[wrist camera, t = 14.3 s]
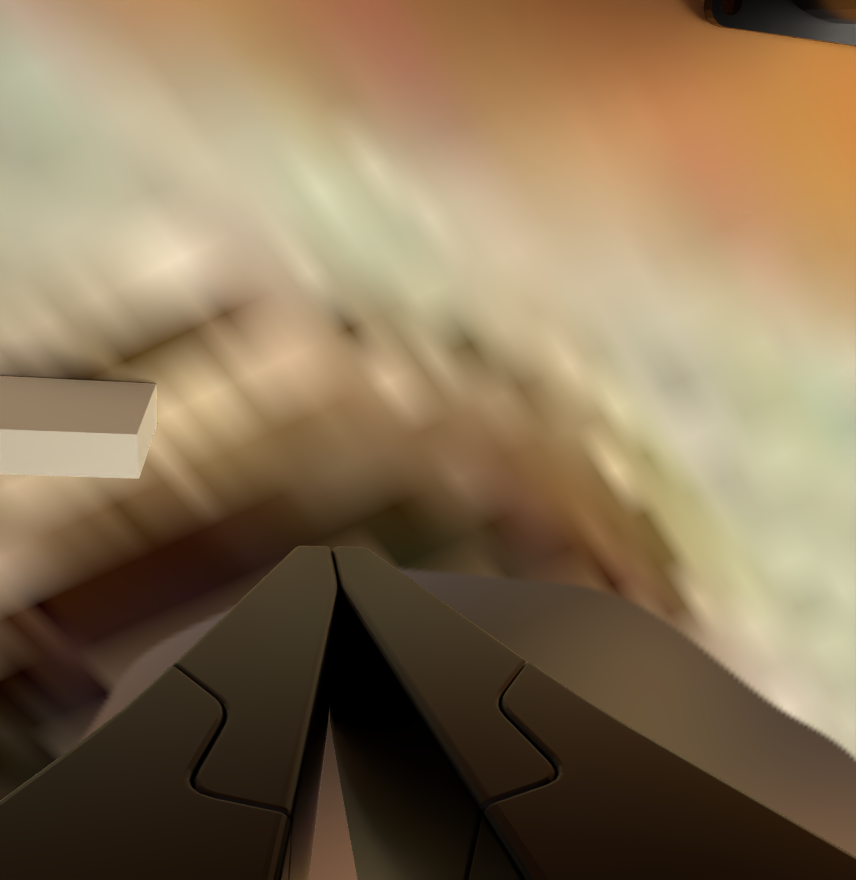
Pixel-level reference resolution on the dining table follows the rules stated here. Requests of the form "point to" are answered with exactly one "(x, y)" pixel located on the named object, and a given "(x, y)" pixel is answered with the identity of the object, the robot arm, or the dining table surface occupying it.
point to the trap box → (75, 427)
